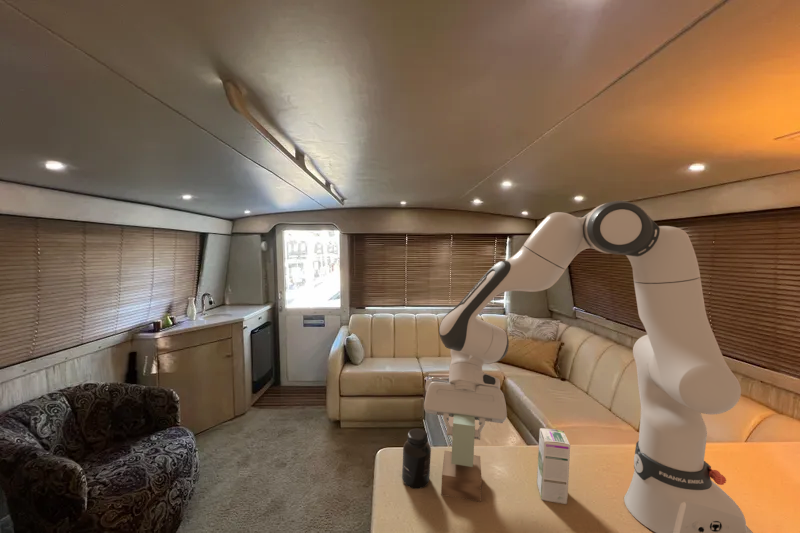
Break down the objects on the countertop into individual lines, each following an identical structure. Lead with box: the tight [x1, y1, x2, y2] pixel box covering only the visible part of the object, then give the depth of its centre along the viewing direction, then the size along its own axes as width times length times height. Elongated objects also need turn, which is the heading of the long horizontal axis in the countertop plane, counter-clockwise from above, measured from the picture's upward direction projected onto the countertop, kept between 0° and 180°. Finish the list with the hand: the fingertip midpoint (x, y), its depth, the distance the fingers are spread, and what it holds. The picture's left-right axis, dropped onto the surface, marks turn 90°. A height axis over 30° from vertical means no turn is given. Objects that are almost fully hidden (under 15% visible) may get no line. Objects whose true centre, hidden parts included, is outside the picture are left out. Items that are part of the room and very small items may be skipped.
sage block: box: [451, 414, 476, 467], centre depth 80 cm, size 5×5×10 cm
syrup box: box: [536, 427, 571, 505], centre depth 78 cm, size 6×6×14 cm
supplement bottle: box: [401, 428, 432, 490], centre depth 82 cm, size 7×7×12 cm
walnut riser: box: [440, 450, 483, 503], centre depth 81 cm, size 9×9×5 cm
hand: (463, 436), depth 79 cm, fingers closed on sage block, 5 cm apart
